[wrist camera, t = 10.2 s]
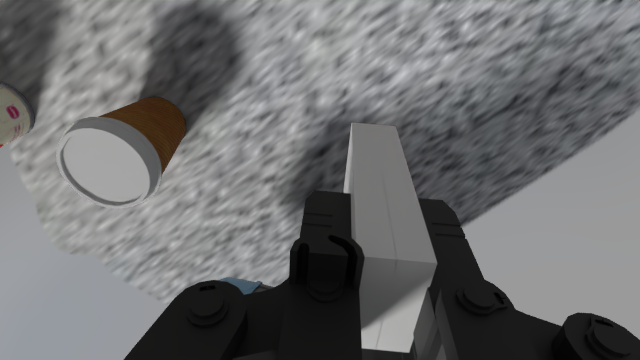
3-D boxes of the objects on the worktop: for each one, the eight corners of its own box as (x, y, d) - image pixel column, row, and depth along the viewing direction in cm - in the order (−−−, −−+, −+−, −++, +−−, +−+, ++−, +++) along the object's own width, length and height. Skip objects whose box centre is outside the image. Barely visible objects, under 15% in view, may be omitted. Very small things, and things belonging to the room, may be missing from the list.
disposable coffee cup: (190, 167, 47) (147, 225, 37) (116, 140, 46) (49, 192, 35) (207, 102, 42) (162, 147, 32) (124, 69, 41) (50, 105, 30)
